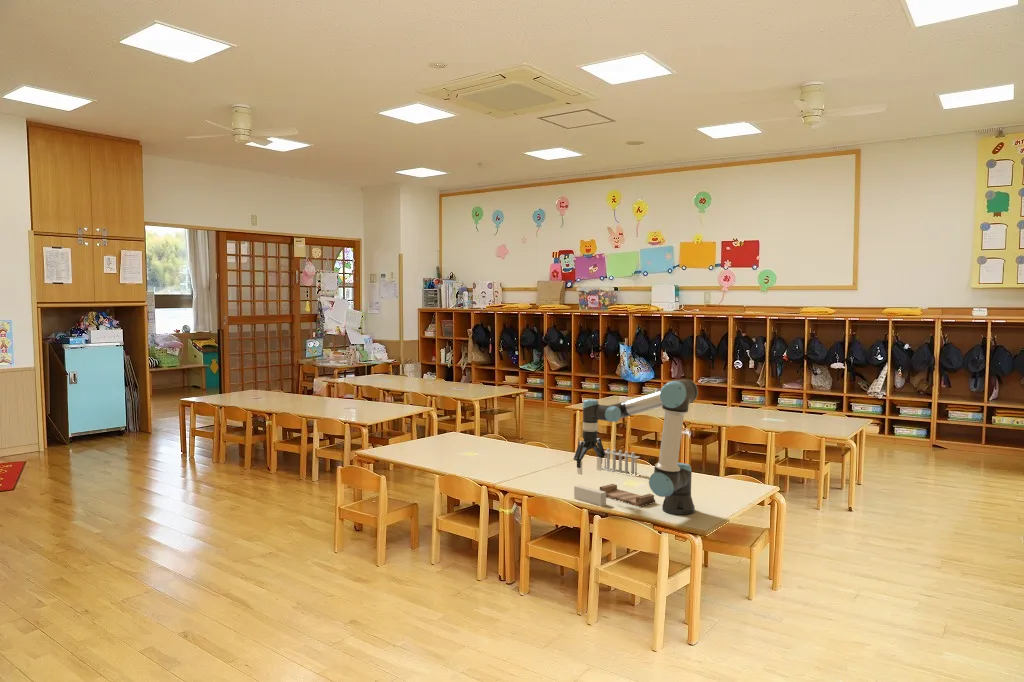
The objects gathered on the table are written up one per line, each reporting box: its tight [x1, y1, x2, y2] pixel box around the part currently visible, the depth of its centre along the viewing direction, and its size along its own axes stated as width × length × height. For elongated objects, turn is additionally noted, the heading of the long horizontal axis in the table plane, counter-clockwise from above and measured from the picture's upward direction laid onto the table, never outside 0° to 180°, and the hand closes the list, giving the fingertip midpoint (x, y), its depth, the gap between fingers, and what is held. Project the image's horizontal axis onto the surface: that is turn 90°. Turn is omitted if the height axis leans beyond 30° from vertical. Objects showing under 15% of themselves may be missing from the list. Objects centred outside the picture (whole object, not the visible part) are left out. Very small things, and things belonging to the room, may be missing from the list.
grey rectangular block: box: [573, 484, 607, 507], centre depth 357 cm, size 18×4×6 cm, turn 41°
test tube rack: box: [601, 447, 641, 477], centre depth 417 cm, size 25×4×13 cm, turn 45°
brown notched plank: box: [599, 483, 656, 508], centre depth 362 cm, size 28×12×4 cm, turn 38°
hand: (589, 472), depth 356 cm, fingers open, 13 cm apart
